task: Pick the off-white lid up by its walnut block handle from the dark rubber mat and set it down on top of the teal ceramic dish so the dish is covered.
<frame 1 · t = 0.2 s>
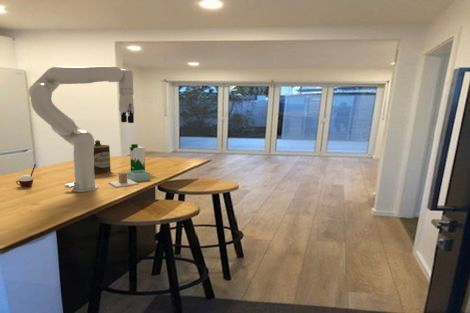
hand: (127, 122, 171), 36 cm above the counter, tool pointing down, fingers open, 9 cm apart
cocoa: (27, 186, 164), on the counter
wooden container: (98, 172, 205), on the counter
dish: (138, 179, 186), on the counter
milk carton: (138, 173, 205), on the counter
lid: (123, 183, 173), resting on mat
mat: (123, 184, 173), on the counter
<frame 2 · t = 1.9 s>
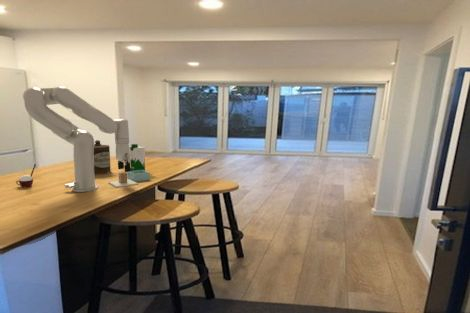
hand: (124, 170, 173), 8 cm above the counter, tool pointing down, fingers open, 9 cm apart
nothing on the counter moved.
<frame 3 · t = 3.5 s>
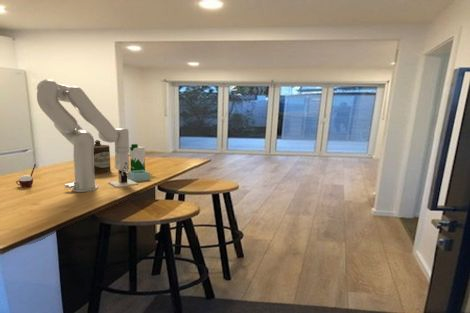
hand: (123, 181, 173), 2 cm above the counter, tool pointing down, fingers closed on lid, 3 cm apart
lid: (123, 183, 173), resting on mat, touching gripper
everything else where it was.
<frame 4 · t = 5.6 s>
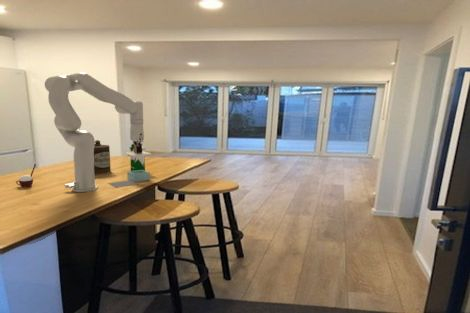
hand: (137, 151, 183), 18 cm above the counter, tool pointing down, fingers closed on lid, 3 cm apart
lid: (138, 154, 183), point 16 cm above the counter, touching gripper
everything else where it was.
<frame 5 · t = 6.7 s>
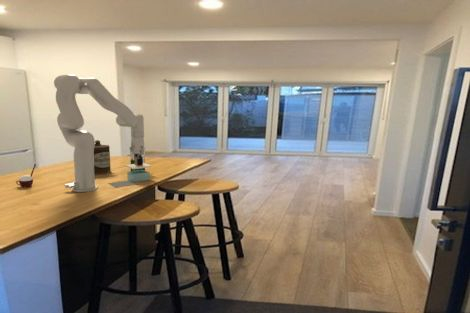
hand: (138, 164, 184), 10 cm above the counter, tool pointing down, fingers closed on lid, 3 cm apart
lid: (138, 166, 185), point 8 cm above the counter, touching gripper
everything else where it was.
when the fingers open (8 cm above the counter, at t = 7.7 s): lid drops 1 cm, resting on dish.
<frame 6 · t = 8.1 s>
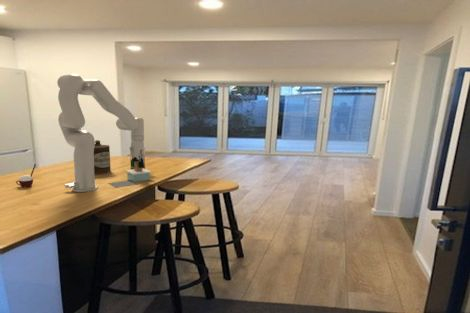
hand: (138, 166, 184), 9 cm above the counter, tool pointing down, fingers open, 7 cm apart
lid: (138, 171, 185), point 5 cm above the counter, touching dish
everything else where it was.
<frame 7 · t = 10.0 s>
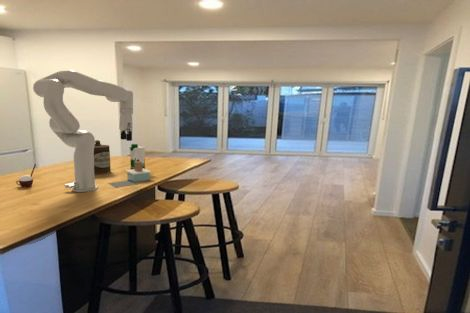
hand: (126, 140, 181), 25 cm above the counter, tool pointing down, fingers open, 9 cm apart
nothing on the counter moved.
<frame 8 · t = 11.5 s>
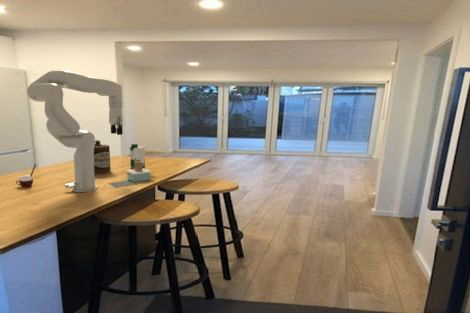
hand: (116, 134, 180), 28 cm above the counter, tool pointing down, fingers open, 9 cm apart
nothing on the counter moved.
at the end: lid 0.0 cm off-centre on the dish, point 5.0 cm above the dish's base; lid tilted 0°; the gripper is holding nothing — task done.
